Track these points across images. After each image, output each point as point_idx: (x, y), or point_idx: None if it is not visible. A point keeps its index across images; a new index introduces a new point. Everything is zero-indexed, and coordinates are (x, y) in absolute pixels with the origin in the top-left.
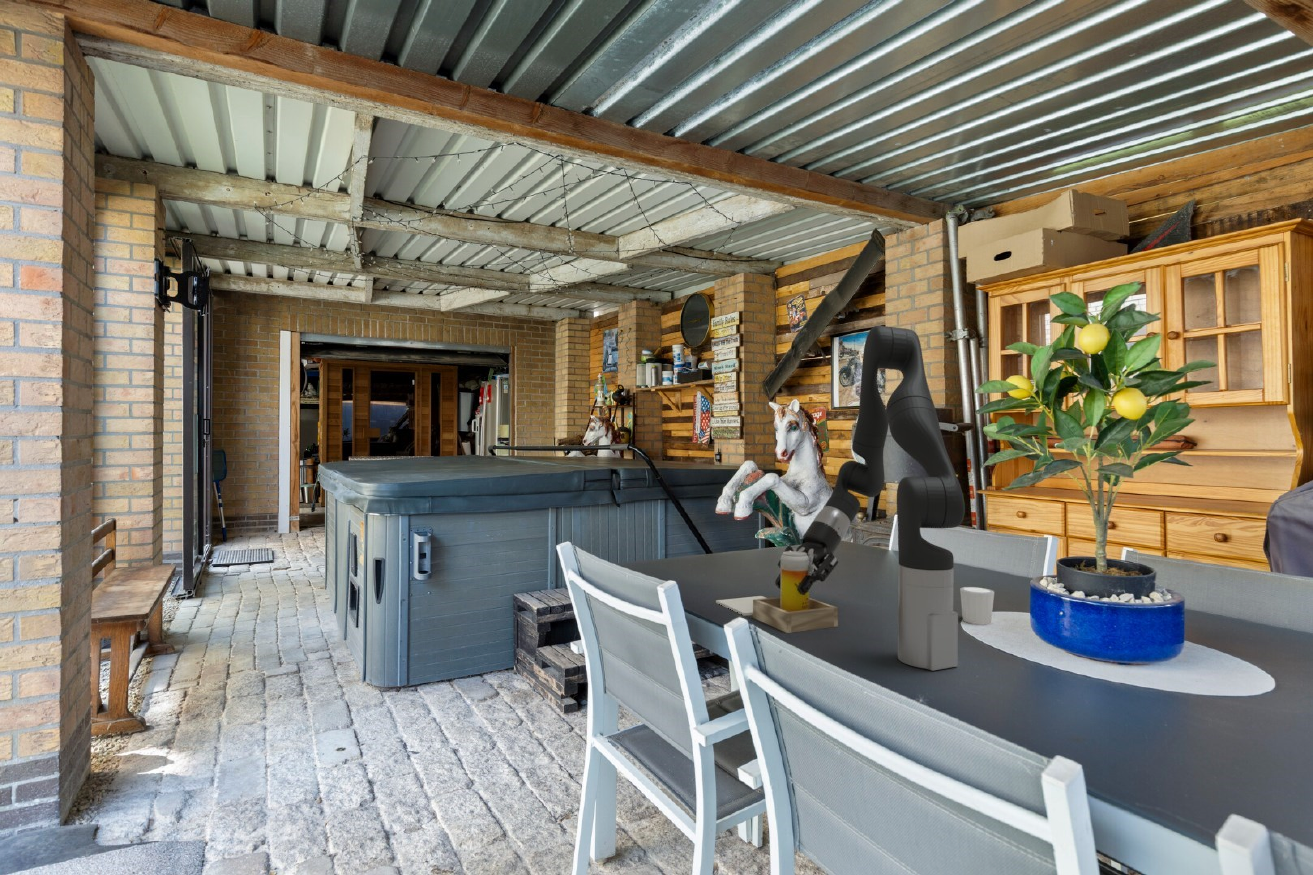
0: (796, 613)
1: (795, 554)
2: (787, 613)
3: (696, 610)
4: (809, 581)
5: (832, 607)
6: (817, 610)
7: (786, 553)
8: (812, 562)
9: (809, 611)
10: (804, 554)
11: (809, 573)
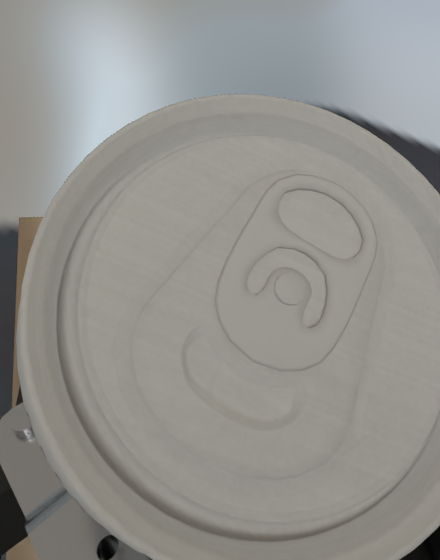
0: (18, 269)
1: (223, 275)
2: (21, 219)
3: (386, 130)
4: (21, 392)
5: (23, 543)
6: (12, 407)
7: (378, 210)
8: (37, 555)
9: (15, 351)
10: (207, 494)
11: (18, 413)
